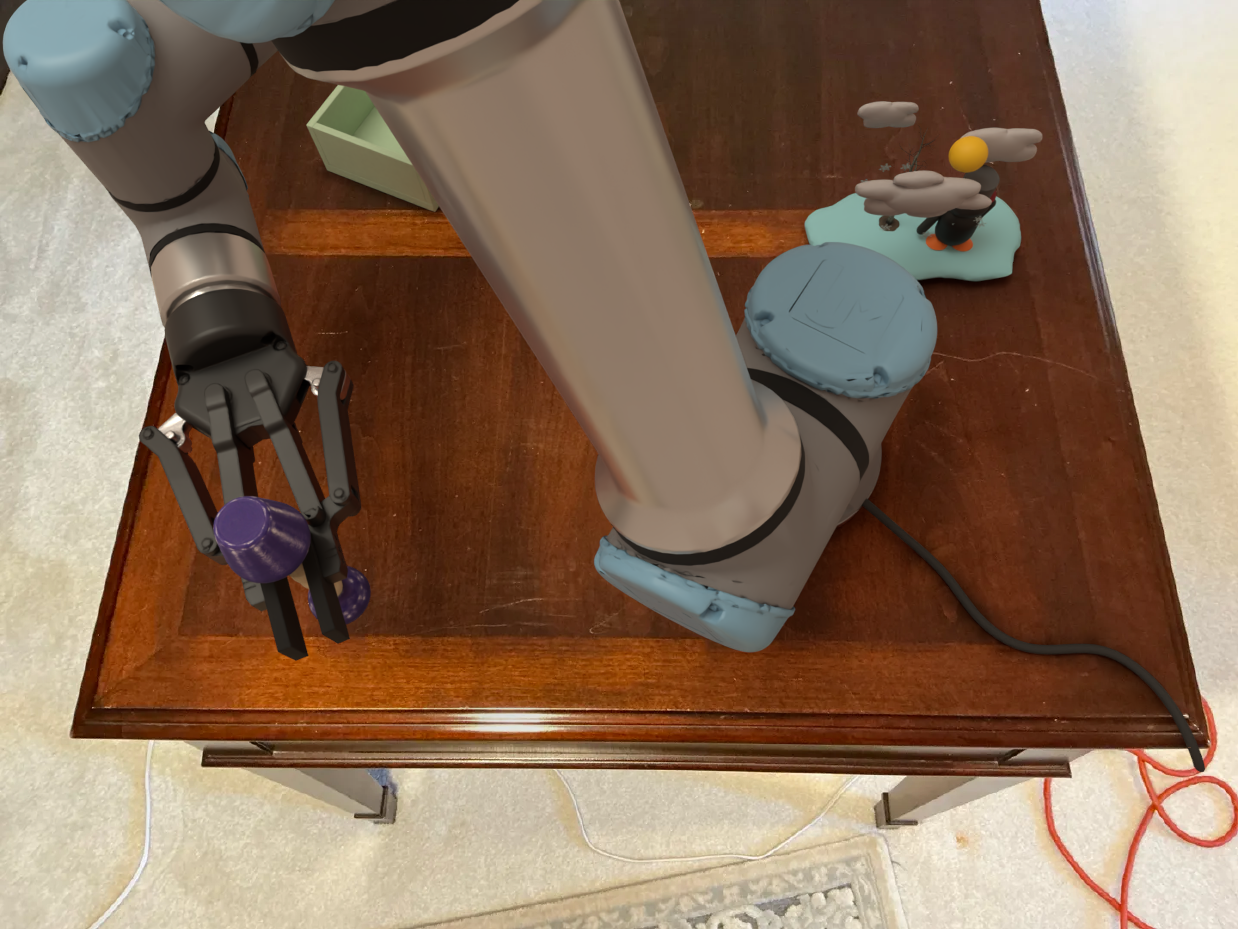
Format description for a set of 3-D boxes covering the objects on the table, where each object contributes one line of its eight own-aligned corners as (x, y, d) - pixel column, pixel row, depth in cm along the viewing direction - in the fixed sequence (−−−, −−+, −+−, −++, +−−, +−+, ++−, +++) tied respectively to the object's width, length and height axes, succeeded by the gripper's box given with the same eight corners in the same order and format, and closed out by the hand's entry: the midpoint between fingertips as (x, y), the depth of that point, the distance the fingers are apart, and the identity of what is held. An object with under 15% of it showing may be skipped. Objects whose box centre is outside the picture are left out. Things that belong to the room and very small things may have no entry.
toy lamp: (365, 635, 58) (278, 563, 43) (297, 633, 58) (186, 561, 43) (374, 567, 60) (295, 475, 45) (308, 566, 60) (206, 473, 45)
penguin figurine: (1006, 200, 82) (1083, 72, 68) (1026, 293, 78) (1113, 177, 64) (798, 201, 82) (833, 74, 68) (808, 295, 78) (846, 179, 64)
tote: (496, 123, 86) (486, 75, 81) (435, 212, 82) (420, 168, 77) (391, 85, 89) (375, 36, 83) (327, 170, 84) (305, 124, 79)
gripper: (349, 313, 61) (452, 610, 53) (144, 386, 59) (216, 706, 51) (313, 248, 54) (424, 577, 46) (79, 328, 52) (149, 687, 44)
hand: (315, 644), depth 48 cm, fingers closed on toy lamp, 2 cm apart
